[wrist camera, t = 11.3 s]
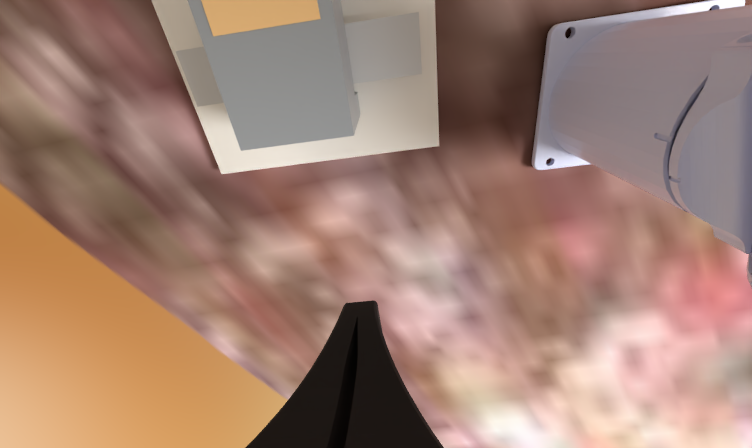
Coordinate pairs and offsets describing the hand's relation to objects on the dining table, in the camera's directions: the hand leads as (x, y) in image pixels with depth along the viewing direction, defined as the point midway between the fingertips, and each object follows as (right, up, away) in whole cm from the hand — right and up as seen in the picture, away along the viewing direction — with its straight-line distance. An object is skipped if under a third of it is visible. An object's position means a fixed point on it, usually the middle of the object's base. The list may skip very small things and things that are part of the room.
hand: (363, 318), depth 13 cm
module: (-3, +13, +3) cm, 14 cm away
